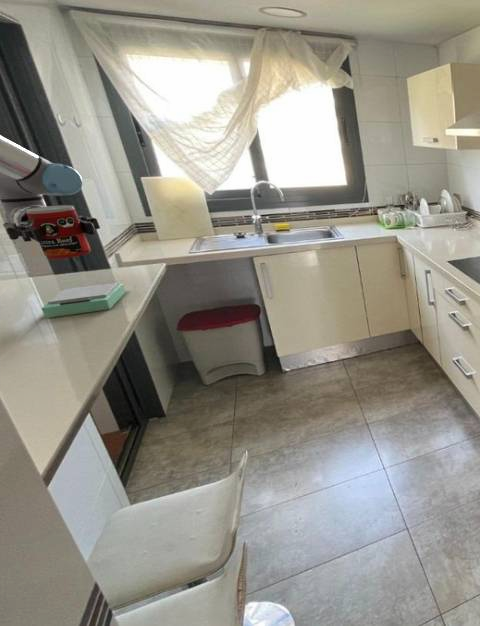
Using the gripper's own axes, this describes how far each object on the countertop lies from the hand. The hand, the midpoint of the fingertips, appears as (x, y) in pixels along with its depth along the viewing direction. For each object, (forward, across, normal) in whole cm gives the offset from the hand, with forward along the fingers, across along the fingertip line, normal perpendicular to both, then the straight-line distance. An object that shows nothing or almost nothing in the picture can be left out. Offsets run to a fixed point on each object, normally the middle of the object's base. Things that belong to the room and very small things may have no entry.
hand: (64, 232), depth 104 cm
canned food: (-5, 0, -6) cm, 8 cm away
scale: (-2, +1, -18) cm, 18 cm away
